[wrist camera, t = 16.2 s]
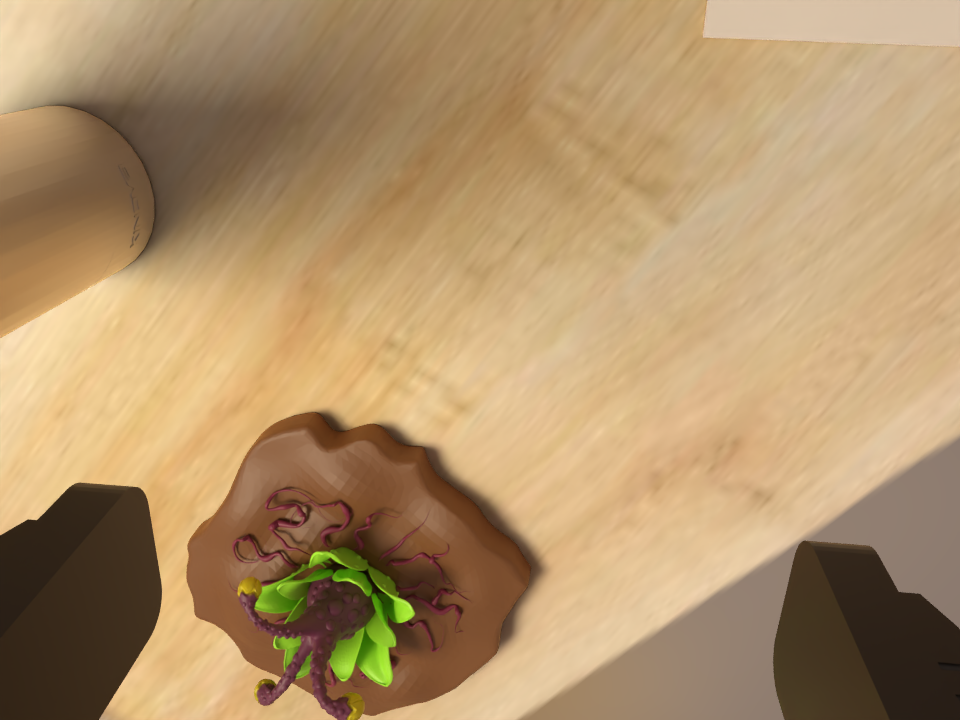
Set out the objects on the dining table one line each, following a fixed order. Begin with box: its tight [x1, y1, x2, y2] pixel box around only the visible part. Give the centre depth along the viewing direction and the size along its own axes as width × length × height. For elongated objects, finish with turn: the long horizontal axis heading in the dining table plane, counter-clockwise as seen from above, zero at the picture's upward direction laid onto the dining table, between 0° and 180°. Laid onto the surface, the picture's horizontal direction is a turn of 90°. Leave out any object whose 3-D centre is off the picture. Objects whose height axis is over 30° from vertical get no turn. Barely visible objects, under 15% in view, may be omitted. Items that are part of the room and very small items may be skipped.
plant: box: [187, 412, 531, 720], centre depth 48 cm, size 20×20×11 cm
